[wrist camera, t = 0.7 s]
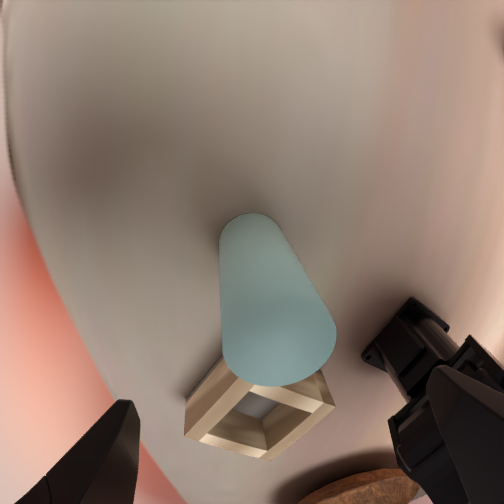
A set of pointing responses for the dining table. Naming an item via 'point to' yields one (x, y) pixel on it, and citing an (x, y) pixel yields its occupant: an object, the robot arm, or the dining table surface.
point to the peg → (269, 306)
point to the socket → (254, 412)
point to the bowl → (367, 489)
